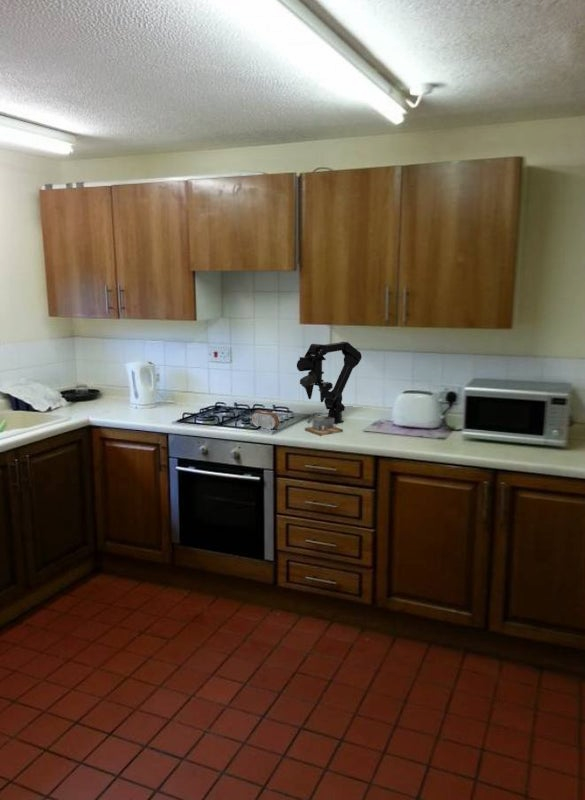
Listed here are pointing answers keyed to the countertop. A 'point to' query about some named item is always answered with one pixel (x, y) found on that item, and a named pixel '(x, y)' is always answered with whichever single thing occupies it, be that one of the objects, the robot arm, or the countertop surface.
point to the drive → (323, 423)
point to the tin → (265, 419)
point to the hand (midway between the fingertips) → (315, 400)
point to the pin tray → (324, 432)
